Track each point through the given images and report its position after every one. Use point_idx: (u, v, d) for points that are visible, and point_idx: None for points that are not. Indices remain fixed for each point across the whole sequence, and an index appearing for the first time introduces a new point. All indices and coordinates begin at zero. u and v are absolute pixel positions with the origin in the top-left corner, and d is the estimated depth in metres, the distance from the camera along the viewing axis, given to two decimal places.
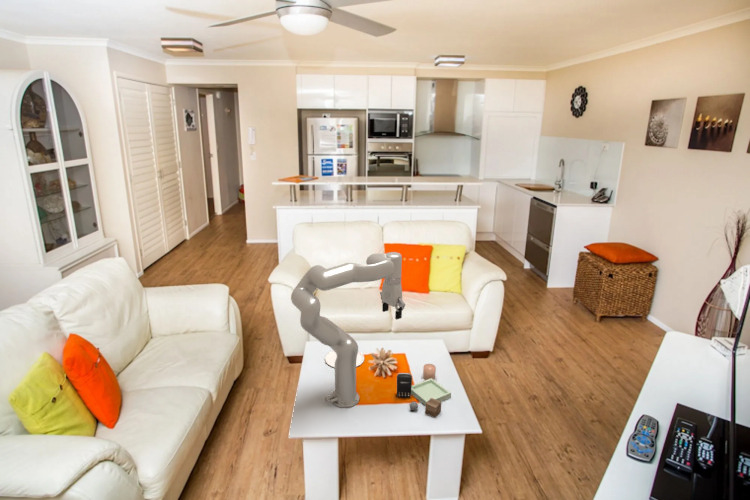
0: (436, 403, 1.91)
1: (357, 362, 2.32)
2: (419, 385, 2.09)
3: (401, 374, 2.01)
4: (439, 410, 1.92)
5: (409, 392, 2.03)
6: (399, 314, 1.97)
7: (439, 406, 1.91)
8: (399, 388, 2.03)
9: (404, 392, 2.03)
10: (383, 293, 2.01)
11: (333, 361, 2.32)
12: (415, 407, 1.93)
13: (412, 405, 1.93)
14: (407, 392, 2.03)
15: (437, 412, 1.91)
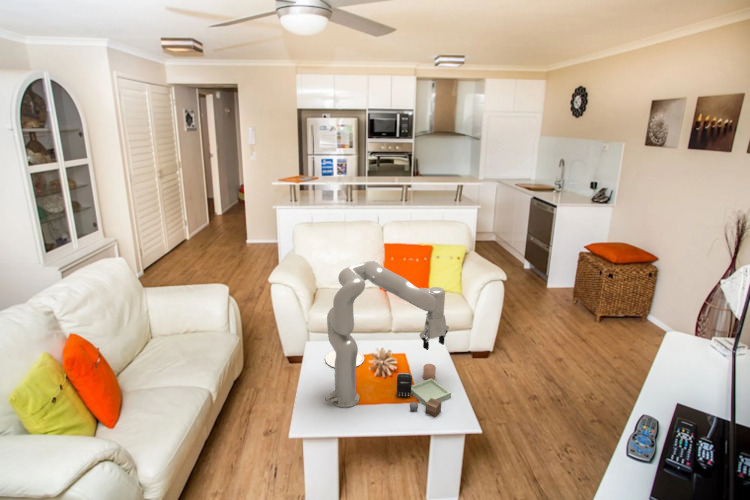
0: (436, 403, 1.91)
1: (357, 362, 2.32)
2: (419, 385, 2.09)
3: (401, 374, 2.01)
4: (439, 410, 1.92)
5: (409, 392, 2.03)
6: None
7: (439, 406, 1.91)
8: (399, 388, 2.03)
9: (404, 392, 2.03)
10: (433, 330, 2.06)
11: (333, 361, 2.32)
12: (415, 407, 1.93)
13: (412, 405, 1.93)
14: (407, 392, 2.03)
15: (437, 412, 1.91)
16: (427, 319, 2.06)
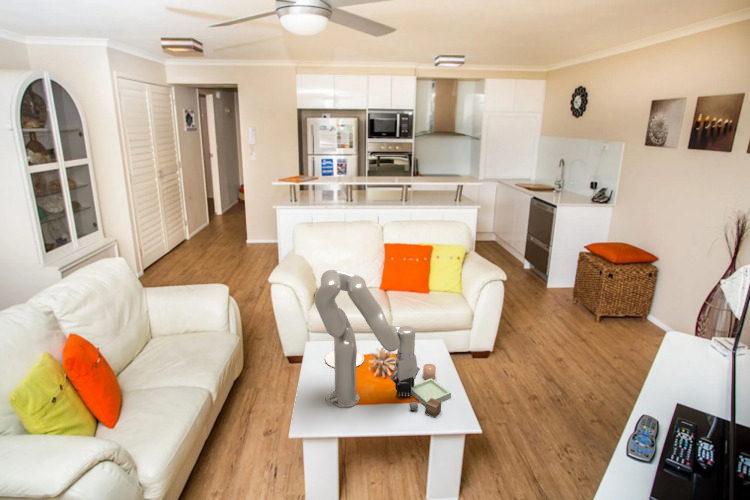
0: (436, 403, 1.91)
1: (357, 362, 2.32)
2: (419, 385, 2.09)
3: None
4: (439, 410, 1.92)
5: (409, 392, 2.03)
6: None
7: (439, 406, 1.91)
8: None
9: (404, 392, 2.03)
10: (403, 372, 1.96)
11: (333, 361, 2.32)
12: (415, 407, 1.93)
13: (412, 405, 1.93)
14: (407, 392, 2.03)
15: (437, 412, 1.91)
16: (397, 360, 1.96)
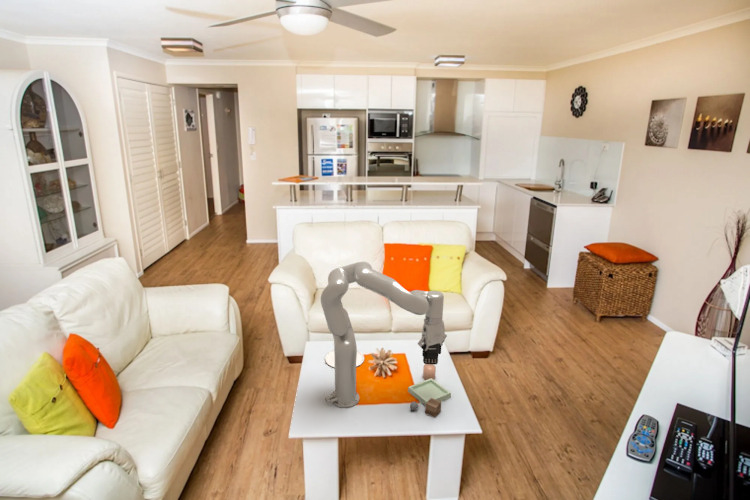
0: (436, 403, 1.91)
1: (357, 362, 2.32)
2: (419, 385, 2.09)
3: None
4: (439, 410, 1.92)
5: (436, 359, 2.00)
6: None
7: (439, 406, 1.91)
8: None
9: (431, 359, 2.00)
10: (431, 337, 1.93)
11: (333, 361, 2.32)
12: (415, 407, 1.93)
13: (412, 405, 1.93)
14: (434, 359, 2.00)
15: (437, 412, 1.91)
16: (425, 325, 1.93)
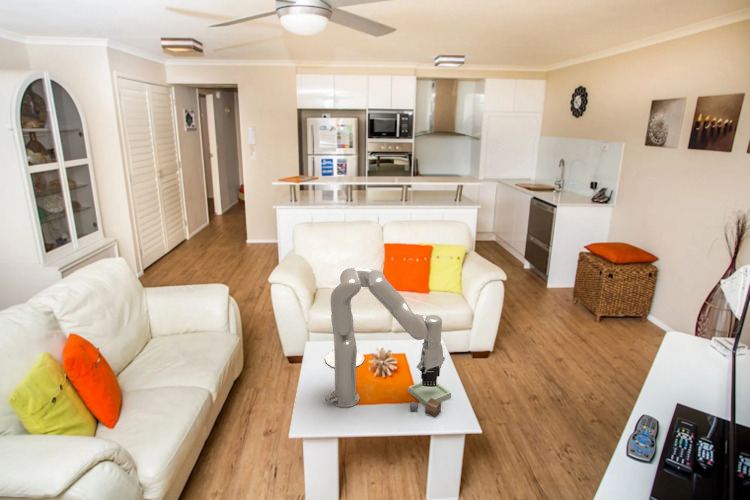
0: (436, 403, 1.91)
1: (357, 362, 2.32)
2: (419, 385, 2.09)
3: None
4: (439, 410, 1.92)
5: (435, 381, 2.04)
6: None
7: (439, 406, 1.91)
8: None
9: (430, 381, 2.04)
10: (430, 360, 1.96)
11: (333, 361, 2.32)
12: (415, 407, 1.93)
13: (412, 405, 1.93)
14: (433, 381, 2.04)
15: (437, 412, 1.91)
16: (423, 349, 1.97)
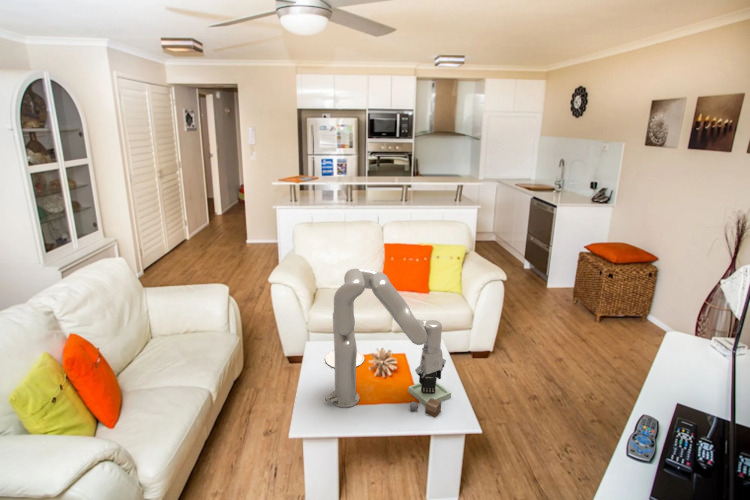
0: (436, 403, 1.91)
1: (357, 362, 2.32)
2: (419, 385, 2.09)
3: None
4: (439, 410, 1.92)
5: (434, 388, 2.05)
6: None
7: (439, 406, 1.91)
8: None
9: (429, 388, 2.05)
10: (429, 365, 1.97)
11: (333, 361, 2.32)
12: (415, 407, 1.93)
13: (412, 405, 1.93)
14: (432, 388, 2.05)
15: (437, 412, 1.91)
16: (423, 354, 1.97)
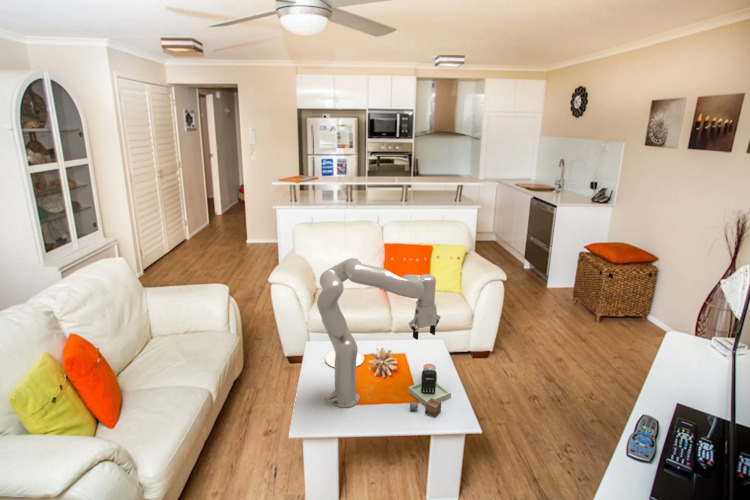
0: (436, 403, 1.91)
1: (357, 362, 2.32)
2: (419, 385, 2.09)
3: (426, 370, 2.02)
4: (439, 410, 1.92)
5: (434, 388, 2.05)
6: None
7: (439, 406, 1.91)
8: (424, 384, 2.04)
9: (429, 388, 2.05)
10: (423, 319, 1.97)
11: (333, 361, 2.32)
12: (415, 407, 1.93)
13: (412, 405, 1.93)
14: (432, 388, 2.05)
15: (437, 412, 1.91)
16: (417, 307, 1.98)
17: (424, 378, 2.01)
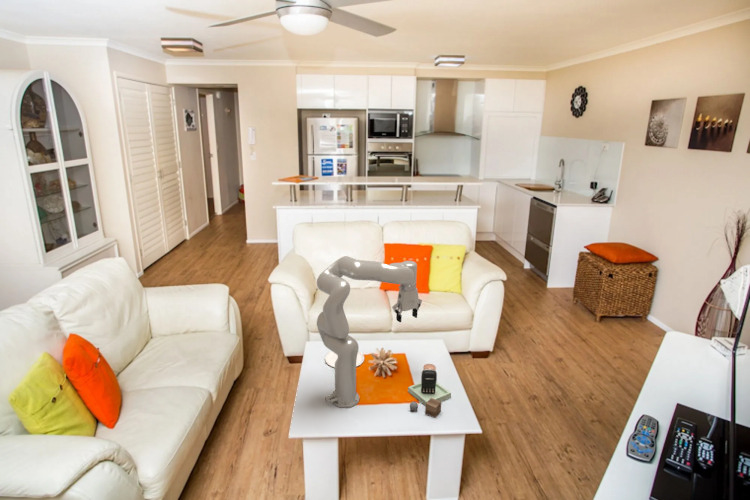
0: (436, 403, 1.91)
1: (357, 362, 2.32)
2: (419, 385, 2.09)
3: (426, 370, 2.02)
4: (439, 410, 1.92)
5: (434, 388, 2.05)
6: None
7: (439, 406, 1.91)
8: (424, 384, 2.04)
9: (429, 388, 2.05)
10: (405, 303, 2.11)
11: (333, 361, 2.32)
12: (415, 407, 1.93)
13: (412, 405, 1.93)
14: (432, 388, 2.05)
15: (437, 412, 1.91)
16: (400, 292, 2.11)
17: (424, 378, 2.01)
